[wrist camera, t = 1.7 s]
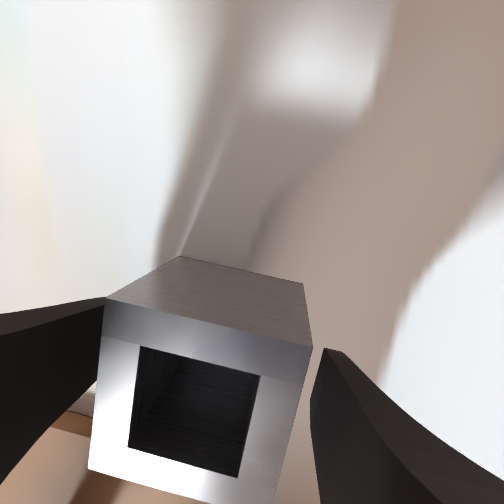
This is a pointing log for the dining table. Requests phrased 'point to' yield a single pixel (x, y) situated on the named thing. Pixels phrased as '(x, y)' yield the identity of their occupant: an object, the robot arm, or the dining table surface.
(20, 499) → the shaft block
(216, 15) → the dining table surface
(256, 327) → the collar
